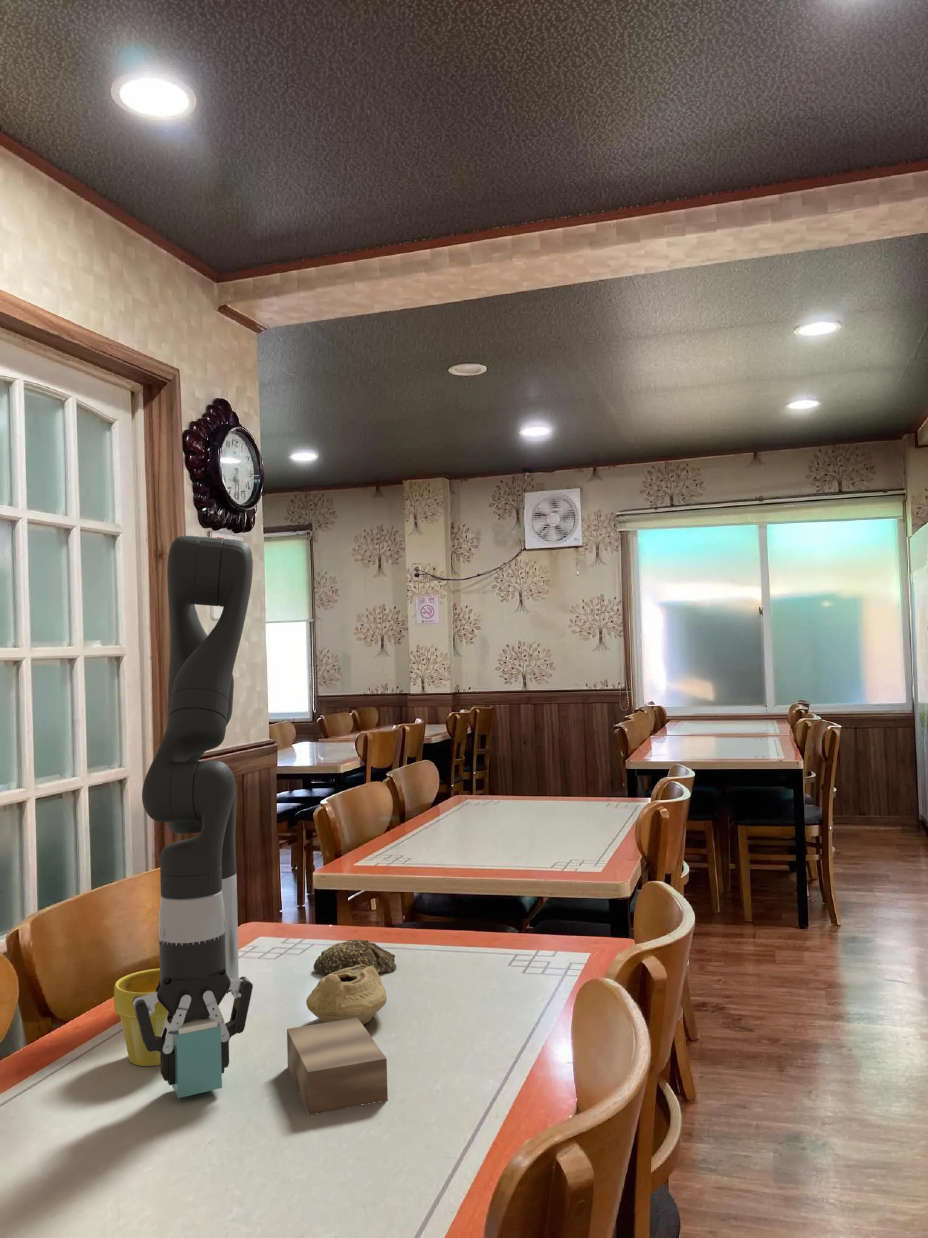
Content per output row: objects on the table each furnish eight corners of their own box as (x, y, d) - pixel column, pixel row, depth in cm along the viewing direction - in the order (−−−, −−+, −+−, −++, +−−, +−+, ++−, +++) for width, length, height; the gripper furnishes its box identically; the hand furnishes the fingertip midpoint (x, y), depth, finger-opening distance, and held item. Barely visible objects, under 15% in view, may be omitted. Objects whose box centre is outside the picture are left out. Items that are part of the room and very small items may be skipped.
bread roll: (303, 974, 159) (302, 943, 159) (353, 954, 169) (353, 925, 169) (363, 987, 152) (362, 954, 152) (412, 965, 162) (411, 935, 162)
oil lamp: (396, 1000, 144) (395, 945, 145) (379, 1040, 129) (377, 978, 130) (323, 1001, 145) (322, 946, 146) (297, 1040, 130) (296, 979, 131)
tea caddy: (169, 1081, 116) (168, 1016, 116) (212, 1072, 118) (210, 1008, 119) (178, 1098, 112) (176, 1030, 112) (221, 1088, 114) (220, 1022, 114)
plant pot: (214, 1045, 129) (213, 970, 130) (166, 1077, 120) (165, 996, 120) (148, 1037, 133) (147, 964, 133) (97, 1068, 123) (95, 989, 123)
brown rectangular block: (287, 1070, 121) (286, 1029, 122) (358, 1058, 124) (357, 1018, 125) (309, 1118, 108) (308, 1072, 108) (387, 1103, 111) (386, 1058, 112)
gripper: (244, 915, 122) (247, 1053, 122) (124, 933, 116) (126, 1079, 115) (260, 929, 116) (263, 1075, 115) (134, 949, 109) (136, 1104, 108)
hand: (195, 1076), depth 115 cm, fingers closed on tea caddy, 5 cm apart
